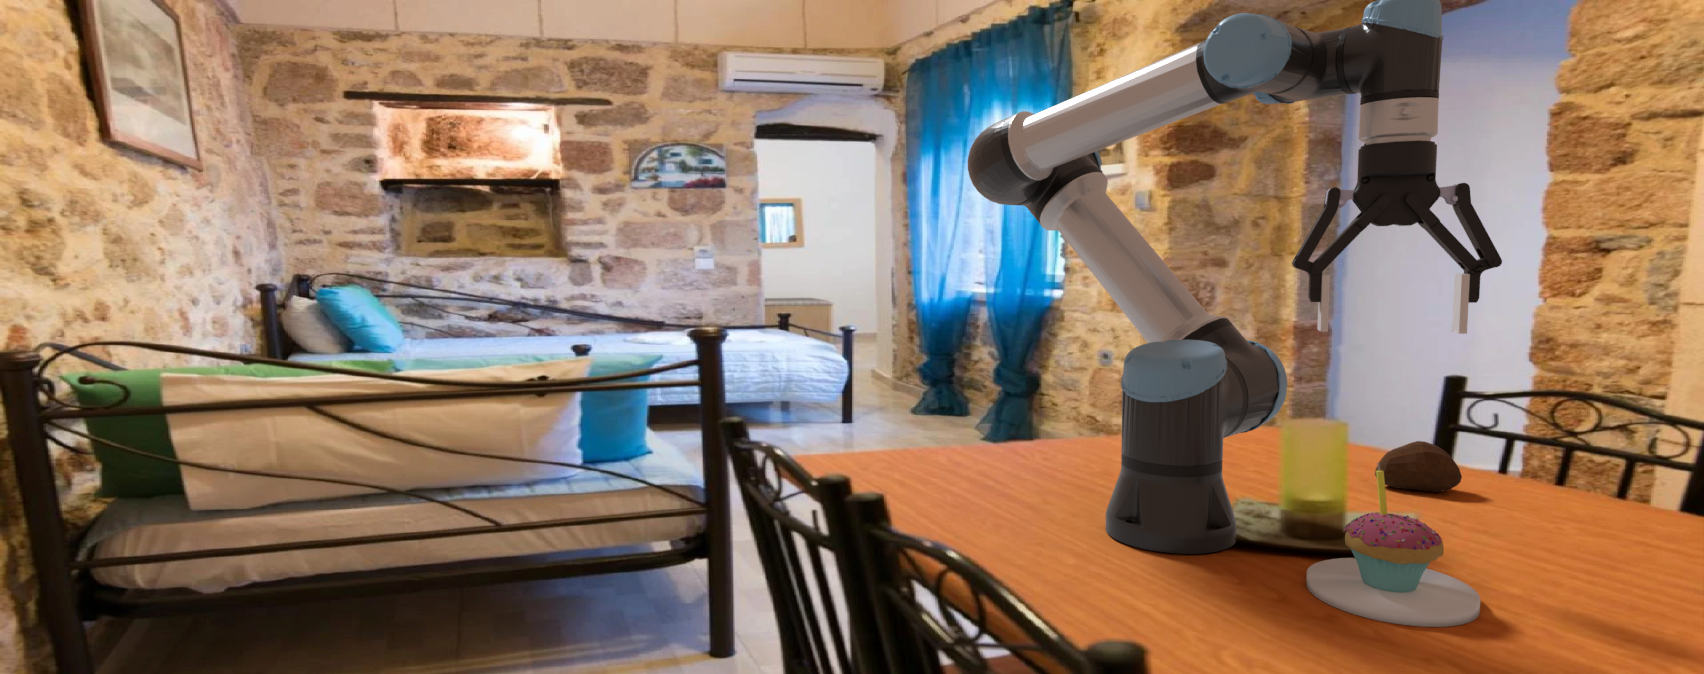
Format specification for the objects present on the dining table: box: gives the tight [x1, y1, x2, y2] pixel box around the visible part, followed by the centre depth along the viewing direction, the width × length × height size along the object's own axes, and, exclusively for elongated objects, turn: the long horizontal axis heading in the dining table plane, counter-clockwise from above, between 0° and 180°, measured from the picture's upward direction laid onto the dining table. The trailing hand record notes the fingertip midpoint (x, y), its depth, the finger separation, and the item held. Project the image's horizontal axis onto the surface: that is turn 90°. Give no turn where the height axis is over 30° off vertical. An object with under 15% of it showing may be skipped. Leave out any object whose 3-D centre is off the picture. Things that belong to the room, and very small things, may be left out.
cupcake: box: [1343, 462, 1445, 592], centre depth 90 cm, size 9×8×12 cm
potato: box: [1374, 440, 1463, 493], centre depth 128 cm, size 7×10×7 cm
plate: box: [1305, 557, 1481, 628], centre depth 91 cm, size 15×15×1 cm
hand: (1389, 331), depth 102 cm, fingers open, 13 cm apart
